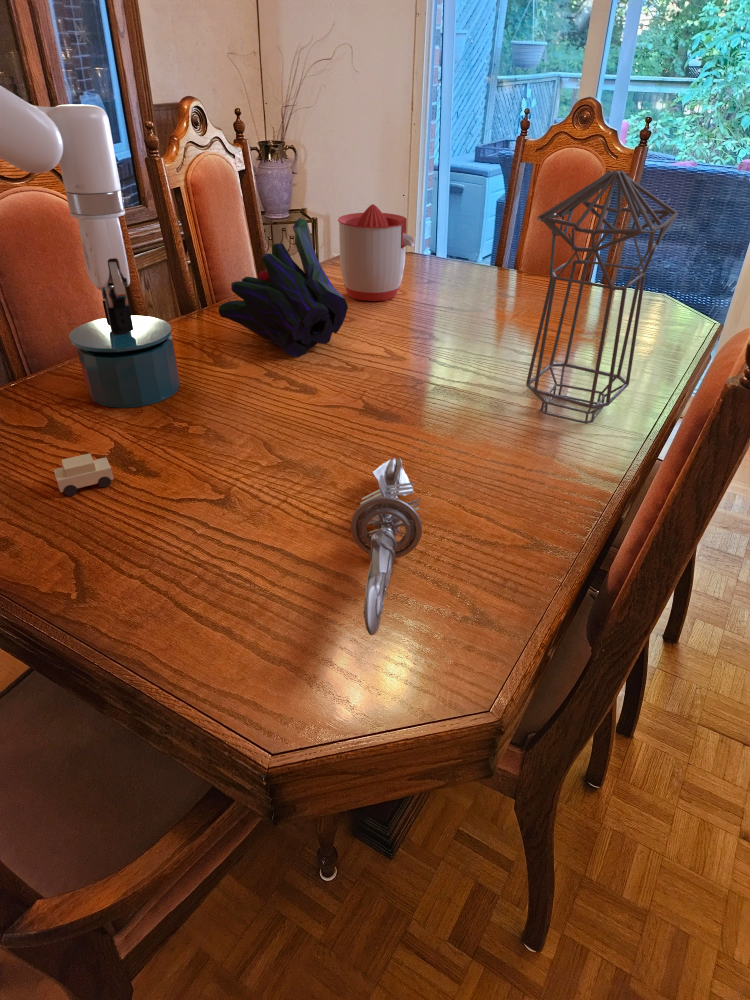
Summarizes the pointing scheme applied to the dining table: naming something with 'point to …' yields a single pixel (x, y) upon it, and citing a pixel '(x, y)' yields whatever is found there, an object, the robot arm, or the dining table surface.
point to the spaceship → (385, 534)
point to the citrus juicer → (373, 253)
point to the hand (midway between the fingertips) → (120, 326)
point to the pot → (131, 375)
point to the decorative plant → (289, 299)
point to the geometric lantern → (549, 219)
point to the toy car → (82, 473)
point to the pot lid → (120, 334)
